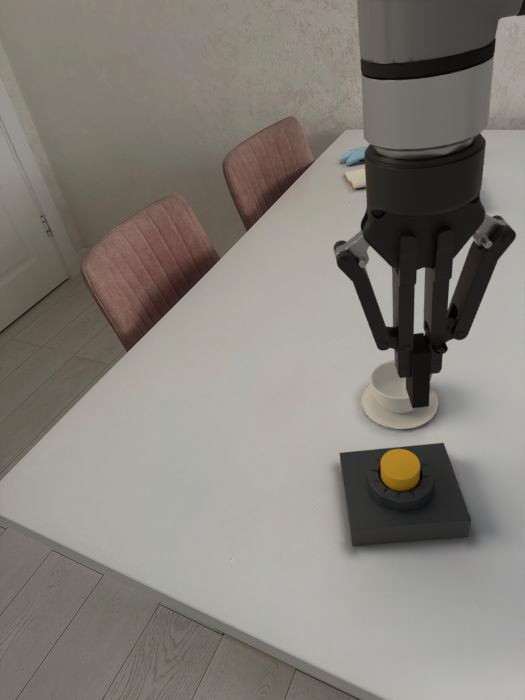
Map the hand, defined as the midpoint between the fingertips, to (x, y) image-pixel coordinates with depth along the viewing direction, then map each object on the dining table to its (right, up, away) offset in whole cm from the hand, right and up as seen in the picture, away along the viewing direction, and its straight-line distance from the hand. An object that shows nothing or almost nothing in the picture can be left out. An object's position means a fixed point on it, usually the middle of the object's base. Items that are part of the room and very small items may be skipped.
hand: (417, 396), depth 47 cm
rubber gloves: (+23, +55, +87) cm, 106 cm away
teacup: (+4, -3, +21) cm, 22 cm away
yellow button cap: (0, -9, +7) cm, 11 cm away
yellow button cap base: (+1, -13, +10) cm, 16 cm away
